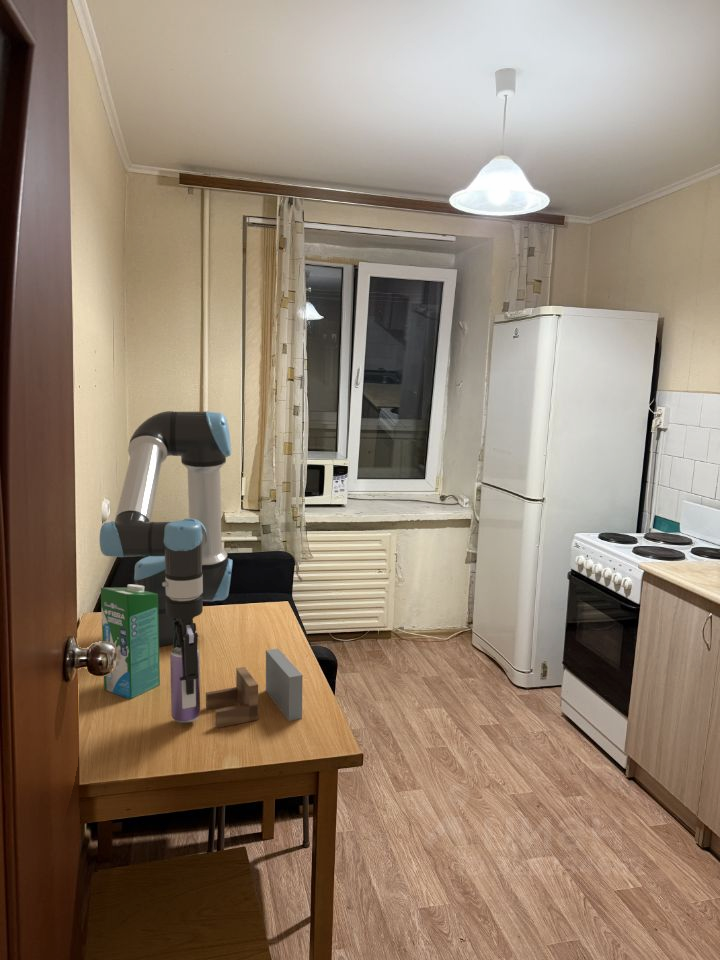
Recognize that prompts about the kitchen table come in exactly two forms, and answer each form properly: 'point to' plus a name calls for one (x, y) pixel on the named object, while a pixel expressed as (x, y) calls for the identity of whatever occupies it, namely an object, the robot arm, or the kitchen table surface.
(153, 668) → the milk carton
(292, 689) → the backstop
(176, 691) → the beverage can
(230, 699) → the bracket
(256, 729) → the kitchen table surface
